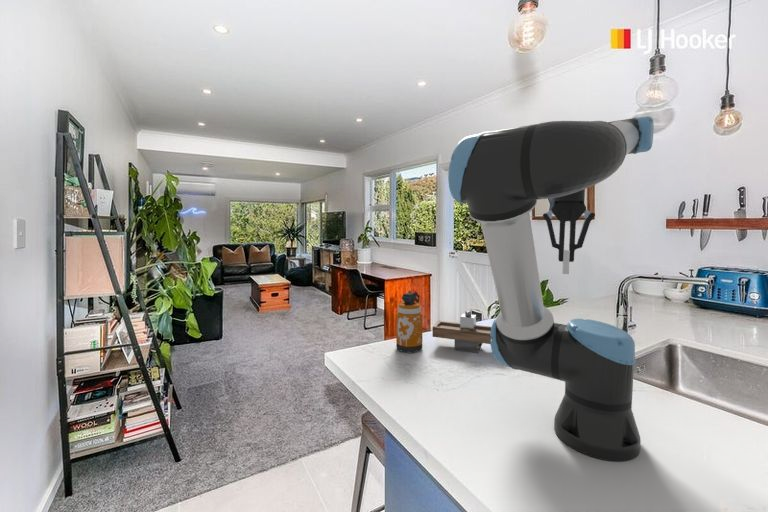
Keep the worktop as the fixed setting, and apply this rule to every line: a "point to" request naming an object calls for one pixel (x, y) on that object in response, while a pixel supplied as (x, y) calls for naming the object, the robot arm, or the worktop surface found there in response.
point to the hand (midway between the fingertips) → (565, 273)
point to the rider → (468, 321)
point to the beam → (463, 335)
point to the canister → (409, 324)
